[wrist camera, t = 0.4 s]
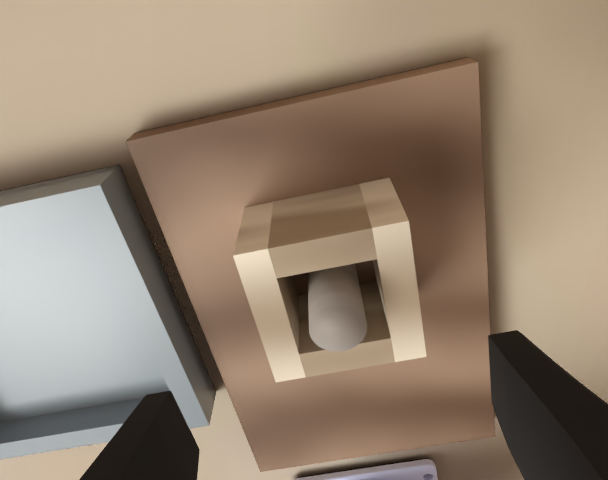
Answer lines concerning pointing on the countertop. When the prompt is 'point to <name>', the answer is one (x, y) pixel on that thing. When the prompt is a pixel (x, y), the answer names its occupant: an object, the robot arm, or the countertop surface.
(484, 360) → the stake board
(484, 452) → the countertop surface
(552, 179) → the countertop surface
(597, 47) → the countertop surface
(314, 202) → the hollow wooden block
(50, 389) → the tray
